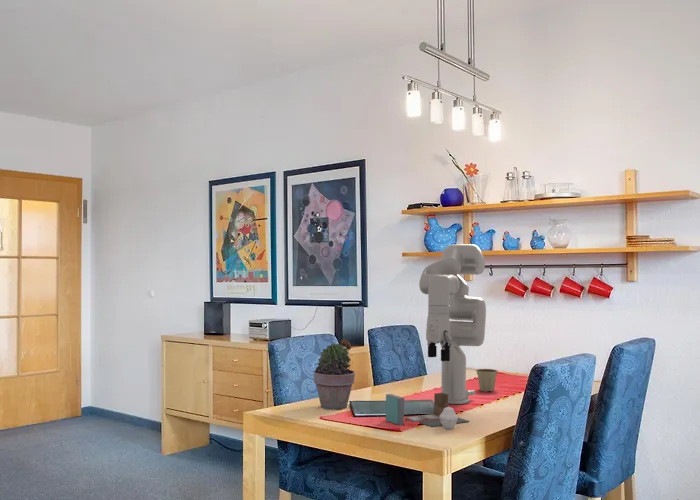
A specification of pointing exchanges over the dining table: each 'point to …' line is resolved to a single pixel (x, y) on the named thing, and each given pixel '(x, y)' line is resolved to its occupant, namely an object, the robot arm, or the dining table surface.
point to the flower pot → (486, 379)
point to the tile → (395, 409)
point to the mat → (438, 423)
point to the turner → (439, 405)
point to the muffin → (448, 418)
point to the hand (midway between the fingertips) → (438, 359)
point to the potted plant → (334, 376)
